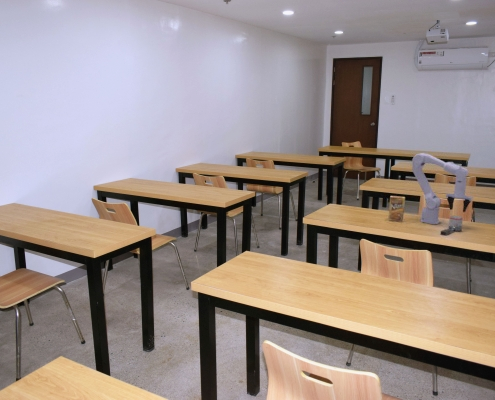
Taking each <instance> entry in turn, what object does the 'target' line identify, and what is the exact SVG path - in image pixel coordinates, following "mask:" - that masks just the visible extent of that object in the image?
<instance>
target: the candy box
mask: <svg viewBox="0 0 495 400" xmlns="http://www.w3.org/2000/svg"><path fill="white" fill-rule="evenodd" d="M405 202H406V197H405V196H397V195H390V197H389V205H388V207H389V208H388V218H387V220H388V221H393V222H399V223H400V222H401V223H403V221H404V215H405Z"/></svg>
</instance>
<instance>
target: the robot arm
mask: <svg viewBox="0 0 495 400" xmlns="http://www.w3.org/2000/svg"><path fill="white" fill-rule="evenodd" d="M411 161H412V165H411V166H412V167H411V170H412V173H413V174H414V176H415V178H416V180H417V182H418V184H419V186H420V188H421V190H422V192H423V195H424V201H425V205H426V206H424V207H423V208H422V210H421V216H420V222H421V223H425V224H430V225H437V224H440V223H441V221H439V216H440V215H439V214H440V205H441V204H442V200H441V199H440V198H439V197H438V196H437V194H436V193H435V192H434V190H433V188H432V186H431V185H430V182H429V181H428V179H427V177H426V175H425V173H424V170H423V167H425V164H427V163H428V164H429V163H431V164H434V165H436V166H437V167H438V166H439V167H440V168H443V171H445V172H446V173H449V174H451V175H454V176H455V185H454V191H453V193H446V195H445V197H446V201H447V202H448V206H449V210H453V209H454V203H455V199H459V200H462V201H463V203H462V204H463V206H462V207H463V208H462V212H463V213H465V212H467V209H468V207H469V205H470V203H471V202H472V201H473V200H474V198H473V197H472V196H468V195H466V189H467V188H466V187H467V179H468V178H467V177H468V175H469V170H468V169H467V168H466V167H462V166H461V165H457V164H456V163H454V162H453V161H447V162H445V161H444V160H441V159H439V158H438V157H436V156H434V155H432V154H430V153H426V152H421V153H417V154H415V155H414V156H413V158H412V159H411Z"/></svg>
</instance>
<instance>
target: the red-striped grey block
mask: <svg viewBox="0 0 495 400" xmlns="http://www.w3.org/2000/svg"><path fill="white" fill-rule="evenodd" d="M463 219H464V217H463V216H459V215H451V216H449V221H448V227H449V226H451V227H456V228H459V227H461V226H462V227H463Z"/></svg>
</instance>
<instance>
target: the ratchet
mask: <svg viewBox="0 0 495 400" xmlns="http://www.w3.org/2000/svg"><path fill="white" fill-rule="evenodd" d="M462 230H463V225H462V226H461V227H459V228H456V227H451V226H449V225H448V228H447V229H443V230H440V234H439V235H441V236H449V235H451V234H453V233H455V232H456V233H460V232H463V231H462Z"/></svg>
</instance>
